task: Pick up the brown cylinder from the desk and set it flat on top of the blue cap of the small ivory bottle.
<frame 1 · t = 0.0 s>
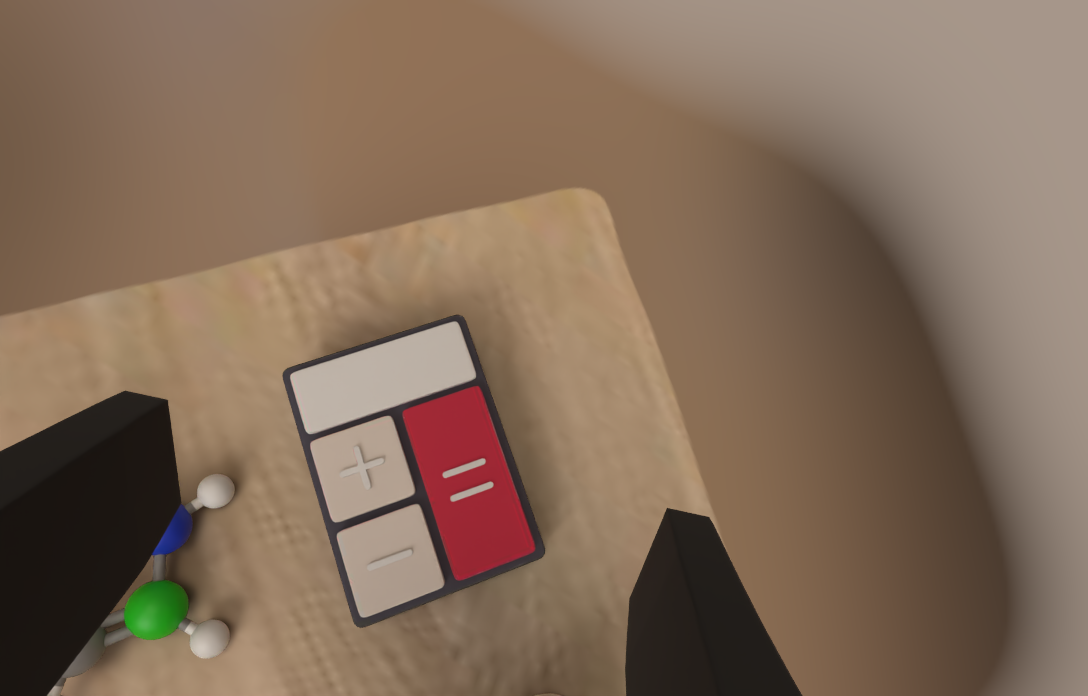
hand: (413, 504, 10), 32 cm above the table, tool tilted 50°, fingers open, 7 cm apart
molecule model: (121, 566, 39), on the table
calculator: (417, 467, 42), on the table
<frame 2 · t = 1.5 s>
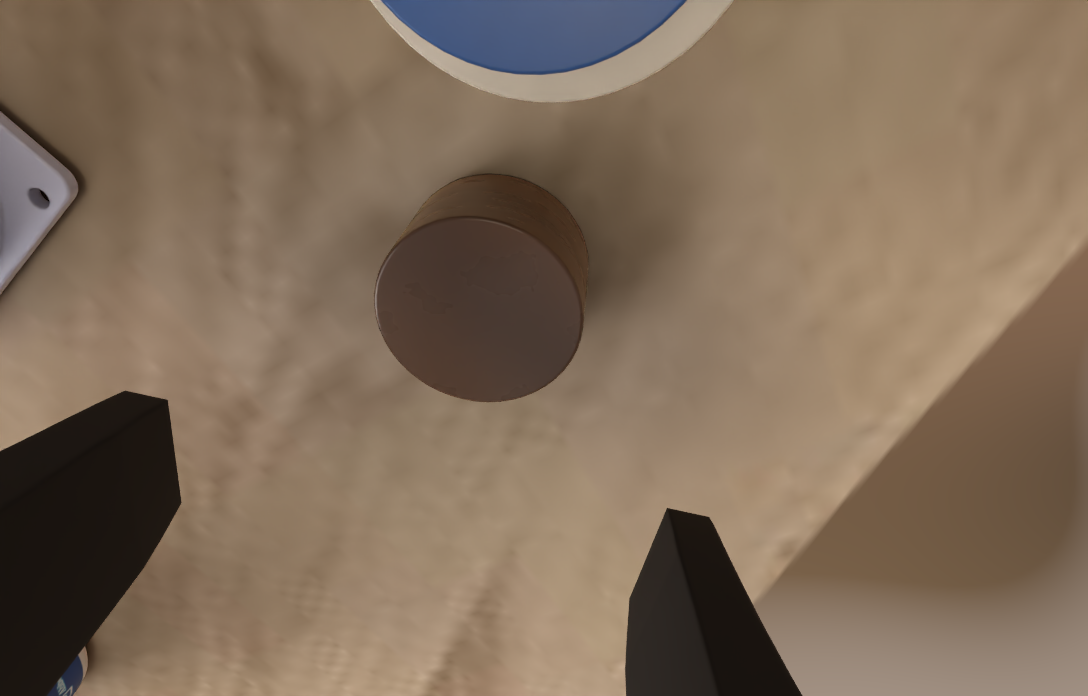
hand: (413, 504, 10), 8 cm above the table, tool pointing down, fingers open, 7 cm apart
beverage bottle: (0, 621, 28), on the table
brown cylinder: (497, 263, 17), on the table
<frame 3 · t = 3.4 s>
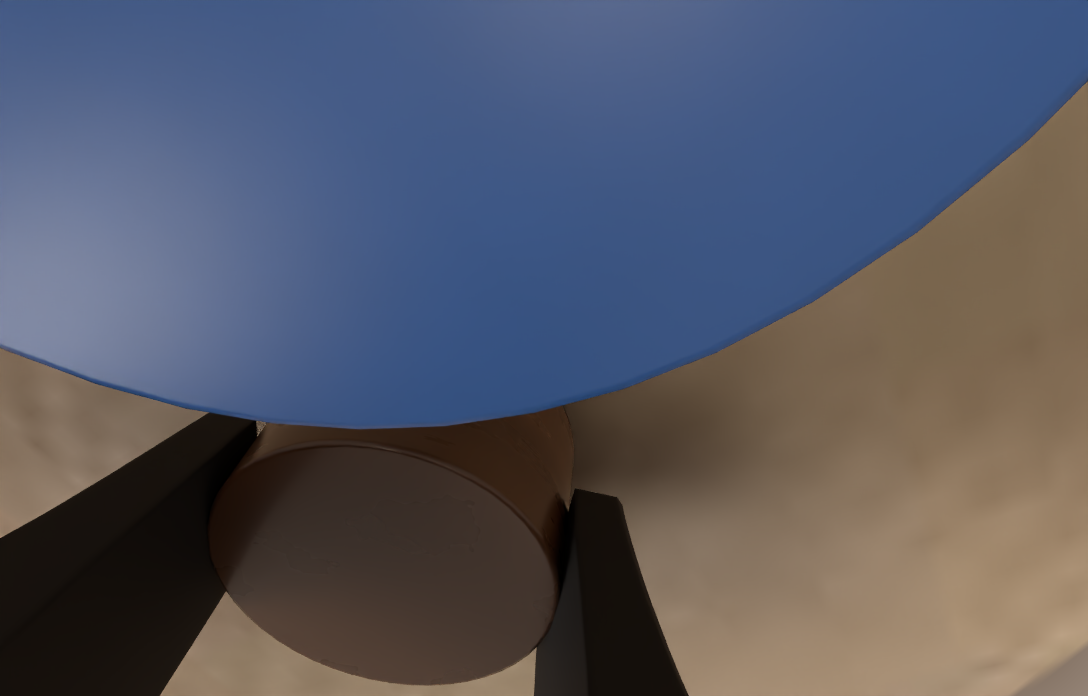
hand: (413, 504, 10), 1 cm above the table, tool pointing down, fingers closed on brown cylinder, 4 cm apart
brown cylinder: (433, 441, 11), on the table, touching gripper
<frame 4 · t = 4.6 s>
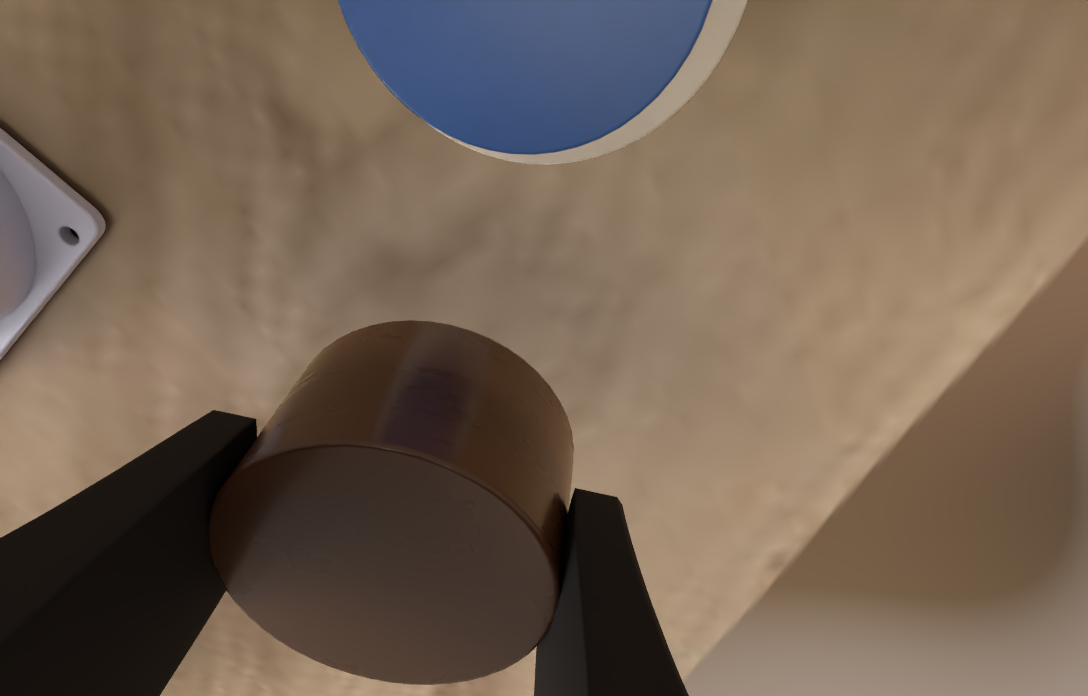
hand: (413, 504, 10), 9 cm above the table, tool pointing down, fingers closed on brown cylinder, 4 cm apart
brown cylinder: (433, 441, 11), point 8 cm above the table, touching gripper
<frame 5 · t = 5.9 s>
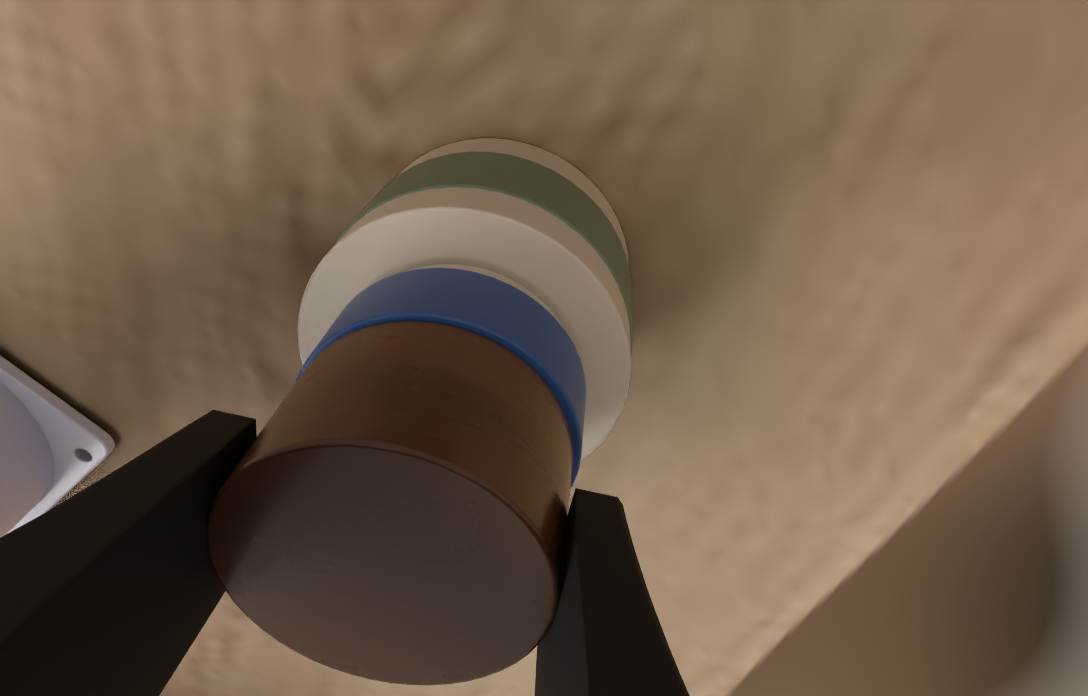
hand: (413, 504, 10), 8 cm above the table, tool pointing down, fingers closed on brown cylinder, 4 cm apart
bottle: (497, 269, 17), on the table, touching brown cylinder
brown cylinder: (432, 441, 11), point 7 cm above the table, touching bottle, gripper
when the fingers open (8 cm above the table, at t = 6.2 s): brown cylinder stays where it is, resting on bottle.
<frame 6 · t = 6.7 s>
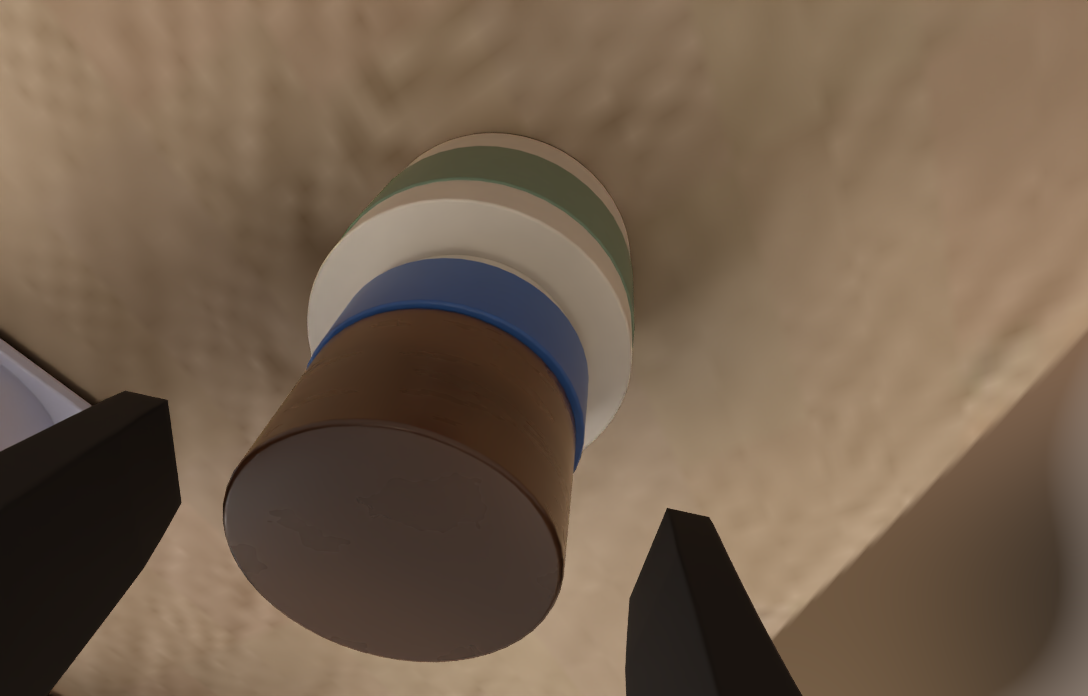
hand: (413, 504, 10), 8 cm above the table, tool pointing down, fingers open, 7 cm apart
bottle: (501, 262, 17), on the table, touching brown cylinder
brown cylinder: (439, 427, 11), point 7 cm above the table, touching bottle
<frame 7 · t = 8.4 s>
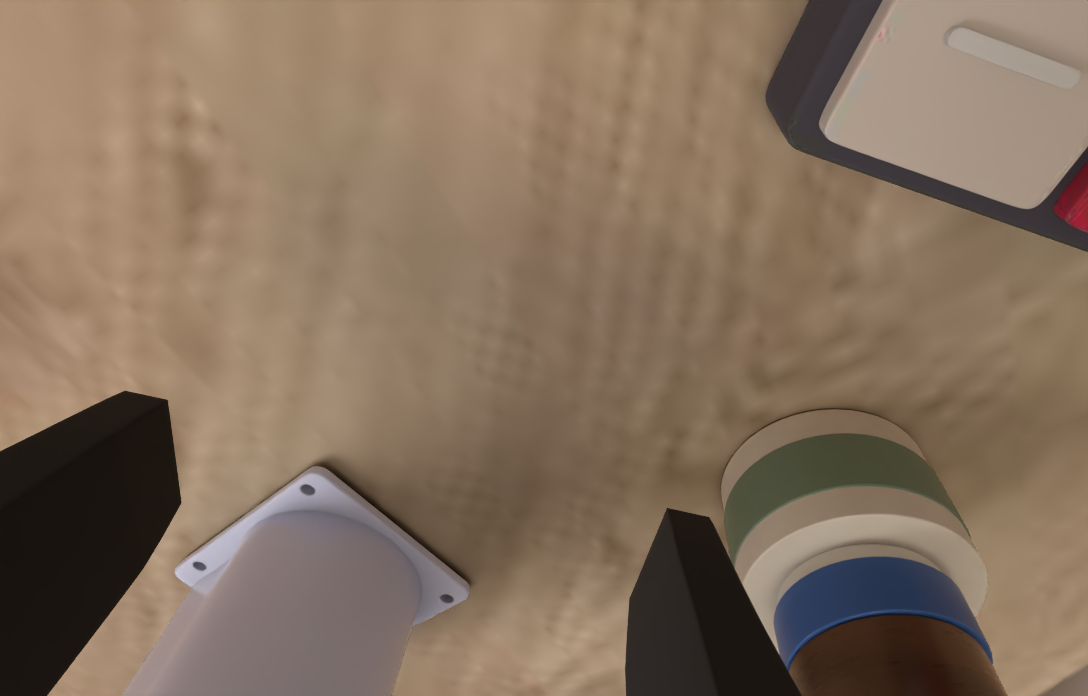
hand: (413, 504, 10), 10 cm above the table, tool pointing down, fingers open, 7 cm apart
bottle: (820, 486, 22), on the table, touching brown cylinder
brown cylinder: (884, 673, 17), point 7 cm above the table, touching bottle
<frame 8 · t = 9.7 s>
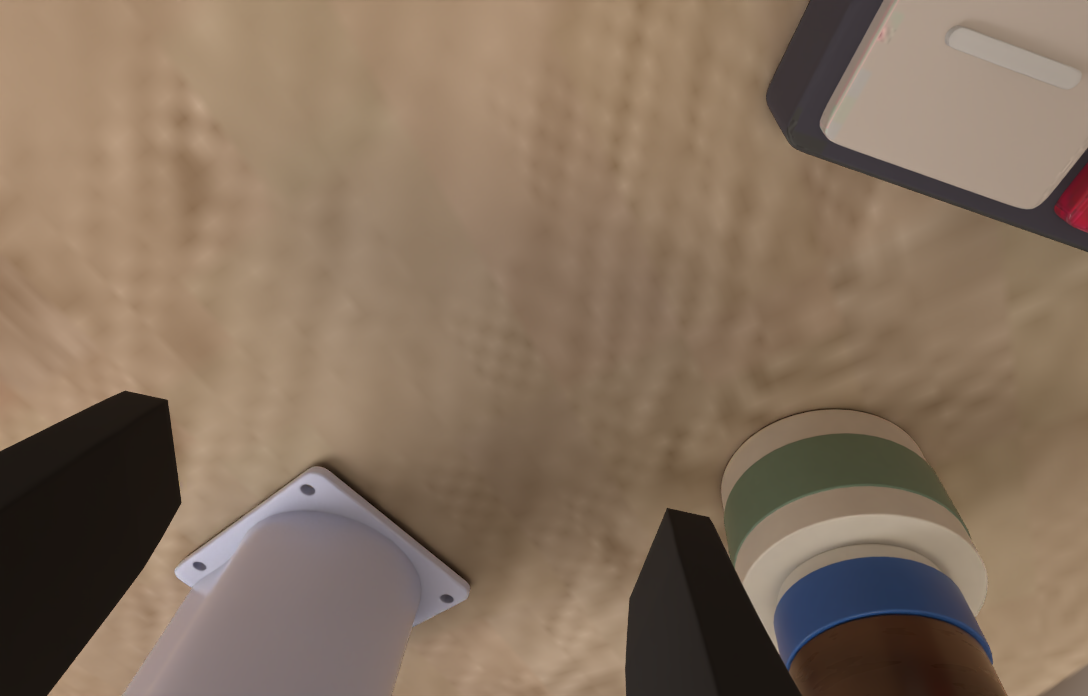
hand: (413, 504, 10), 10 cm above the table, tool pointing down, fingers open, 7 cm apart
bottle: (820, 486, 22), on the table, touching brown cylinder
brown cylinder: (884, 673, 17), point 7 cm above the table, touching bottle
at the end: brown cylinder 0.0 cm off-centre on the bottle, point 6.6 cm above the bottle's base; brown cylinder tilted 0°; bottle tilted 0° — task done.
